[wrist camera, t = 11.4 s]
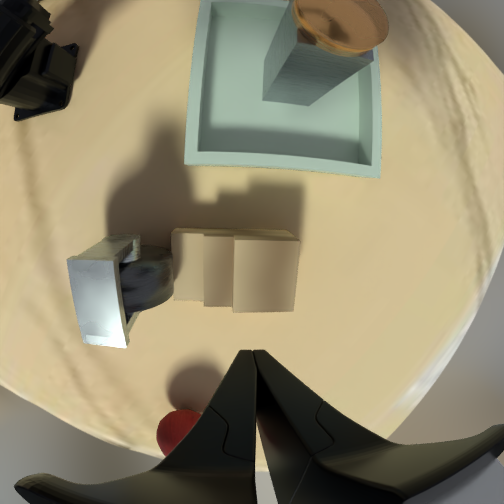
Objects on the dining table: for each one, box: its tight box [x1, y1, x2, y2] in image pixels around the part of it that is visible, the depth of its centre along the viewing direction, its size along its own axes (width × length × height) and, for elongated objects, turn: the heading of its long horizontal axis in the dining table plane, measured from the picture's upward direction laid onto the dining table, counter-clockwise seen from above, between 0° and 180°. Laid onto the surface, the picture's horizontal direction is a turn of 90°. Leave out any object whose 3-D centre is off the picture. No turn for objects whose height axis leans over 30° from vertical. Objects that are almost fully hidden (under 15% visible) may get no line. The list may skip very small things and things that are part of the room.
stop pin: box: [262, 0, 389, 106], centre depth 12 cm, size 4×4×11 cm
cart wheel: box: [67, 234, 174, 348], centre depth 17 cm, size 7×5×8 cm
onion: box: [157, 409, 201, 456], centre depth 22 cm, size 6×6×8 cm
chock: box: [171, 228, 300, 313], centre depth 20 cm, size 8×5×4 cm, turn 87°
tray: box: [184, 0, 382, 178], centre depth 17 cm, size 14×14×3 cm
